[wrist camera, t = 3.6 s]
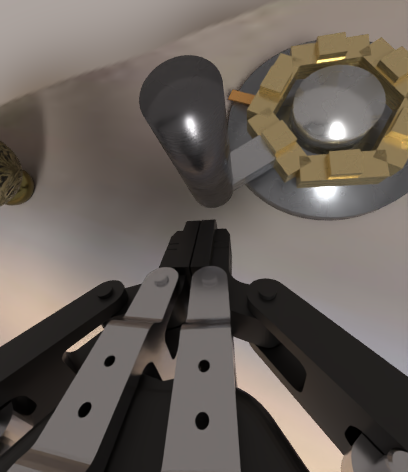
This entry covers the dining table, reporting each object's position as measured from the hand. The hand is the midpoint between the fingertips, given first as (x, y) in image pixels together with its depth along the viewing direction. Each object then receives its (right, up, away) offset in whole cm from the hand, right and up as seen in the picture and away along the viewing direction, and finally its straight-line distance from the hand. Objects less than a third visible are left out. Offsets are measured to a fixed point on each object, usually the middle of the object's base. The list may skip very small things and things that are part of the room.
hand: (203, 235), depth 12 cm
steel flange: (+10, +8, +6) cm, 14 cm away
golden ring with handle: (+7, +7, +5) cm, 11 cm away
